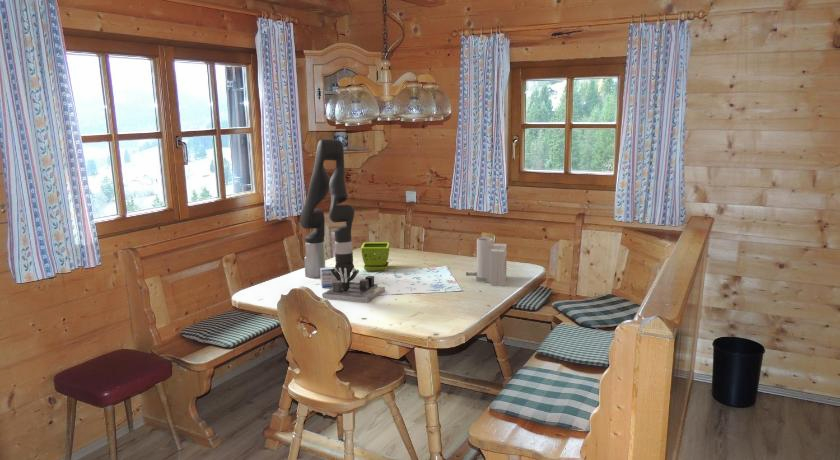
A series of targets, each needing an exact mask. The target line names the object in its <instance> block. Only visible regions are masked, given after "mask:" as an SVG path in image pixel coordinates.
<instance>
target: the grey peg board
mask: <svg viewBox="0 0 840 460" xmlns="http://www.w3.org/2000/svg"><path fill="white" fill-rule="evenodd" d="M349 287H350V288H349V289H348V291H343V289H342V292H341V293H340V292H333V287H330V289H328V290H326V291H325V292H323V293H322V294H321V296H322V297H323V298H322V297H321V298H322V299H325V298H327V299H329V300H337V301H346V302H355V303H356V302H357V303H365V304H369V303H370V302H372V301H373V300H375V299H376V298H378V297H379V296H380V295H382V294H383V293H384V292H386V286H381V285H378V283H375V275H366V276H365V278H364V279H363V278H362V279H360V280H359V282H358V281H357V282H356V281H350V282H349Z"/></svg>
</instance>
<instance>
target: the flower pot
mask: <svg viewBox="0 0 840 460" xmlns="http://www.w3.org/2000/svg"><path fill="white" fill-rule="evenodd" d="M390 243H391V242H386V241H385V242H381V241H379V242H377V241H376V242H374V241H373V242H363V243H362V245H361V248H360V250H361V257H362V261H363V263H364V265H363V269H364V271H367V272H373V271H375V272H385V271H386V270H387V269H388V266H389V263H390V262H389V261H388V259H389V254H390V248H391V247H390V245H391V244H390Z"/></svg>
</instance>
